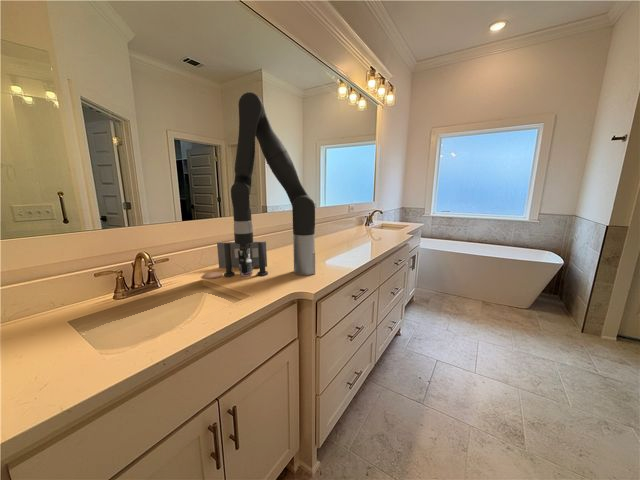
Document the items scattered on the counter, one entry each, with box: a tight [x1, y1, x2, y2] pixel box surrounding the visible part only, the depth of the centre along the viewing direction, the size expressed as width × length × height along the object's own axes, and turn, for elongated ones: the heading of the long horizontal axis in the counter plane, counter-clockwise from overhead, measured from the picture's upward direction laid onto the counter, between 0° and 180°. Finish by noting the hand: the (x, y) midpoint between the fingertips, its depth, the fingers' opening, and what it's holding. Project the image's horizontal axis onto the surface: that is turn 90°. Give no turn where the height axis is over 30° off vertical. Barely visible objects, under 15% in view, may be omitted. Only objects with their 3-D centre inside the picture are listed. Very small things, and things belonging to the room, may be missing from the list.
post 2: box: [257, 241, 269, 277], centre depth 108 cm, size 4×4×14 cm
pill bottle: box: [238, 254, 253, 278], centre depth 108 cm, size 5×5×9 cm
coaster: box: [201, 271, 224, 280], centre depth 108 cm, size 8×8×1 cm
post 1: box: [223, 243, 236, 278], centre depth 107 cm, size 4×4×14 cm
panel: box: [216, 241, 268, 269], centre depth 118 cm, size 22×2×12 cm, turn 95°
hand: (245, 270), depth 109 cm, fingers closed on pill bottle, 5 cm apart
